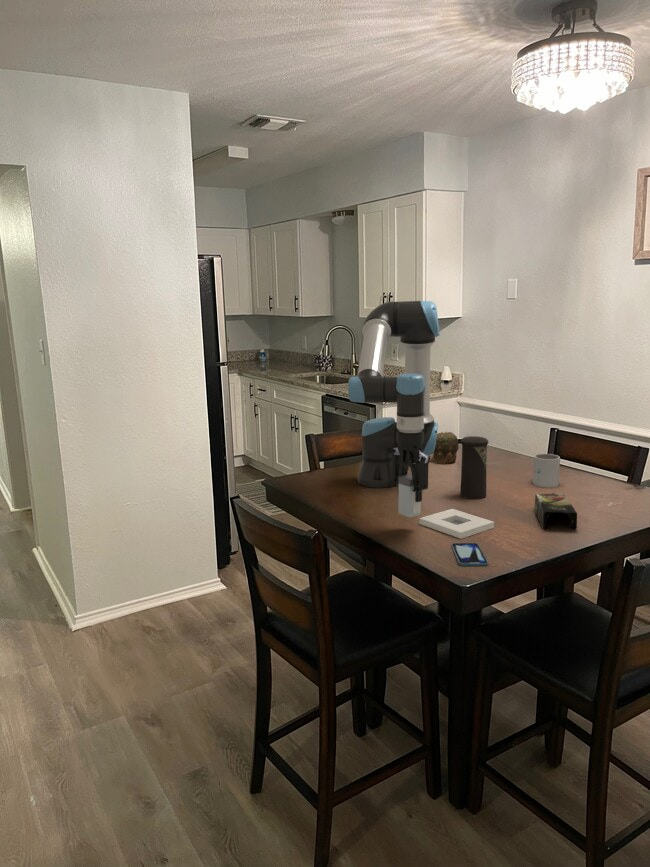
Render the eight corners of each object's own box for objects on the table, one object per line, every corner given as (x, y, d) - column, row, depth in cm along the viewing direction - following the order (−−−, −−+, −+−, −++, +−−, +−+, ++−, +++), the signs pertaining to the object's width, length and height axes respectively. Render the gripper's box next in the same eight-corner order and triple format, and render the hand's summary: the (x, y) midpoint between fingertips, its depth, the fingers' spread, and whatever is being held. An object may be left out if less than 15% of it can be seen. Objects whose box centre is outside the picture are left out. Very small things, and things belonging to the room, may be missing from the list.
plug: (398, 513, 189) (398, 476, 187) (409, 510, 192) (410, 473, 189) (409, 517, 185) (409, 480, 183) (420, 514, 188) (421, 477, 186)
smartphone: (478, 542, 177) (489, 563, 163) (478, 546, 177) (489, 567, 163) (450, 542, 178) (459, 563, 163) (450, 546, 178) (458, 567, 163)
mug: (560, 487, 228) (561, 459, 226) (534, 487, 230) (535, 459, 228) (555, 478, 240) (556, 451, 238) (530, 477, 241) (531, 451, 239)
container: (487, 499, 216) (489, 440, 212) (459, 498, 218) (460, 439, 214) (486, 492, 224) (488, 434, 220) (459, 491, 226) (460, 434, 222)
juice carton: (532, 508, 207) (533, 489, 206) (564, 510, 205) (566, 491, 204) (541, 531, 187) (542, 510, 186) (577, 533, 186) (579, 512, 185)
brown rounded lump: (460, 459, 271) (461, 430, 268) (454, 465, 261) (455, 436, 259) (435, 457, 275) (435, 429, 273) (427, 463, 265) (428, 434, 263)
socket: (419, 524, 194) (419, 518, 194) (452, 514, 202) (452, 508, 202) (460, 538, 181) (461, 532, 181) (493, 527, 190) (494, 521, 189)
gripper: (379, 427, 188) (379, 504, 193) (423, 437, 174) (422, 520, 179) (398, 423, 192) (398, 499, 197) (442, 433, 178) (441, 514, 184)
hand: (409, 509), depth 188 cm, fingers closed on plug, 4 cm apart
